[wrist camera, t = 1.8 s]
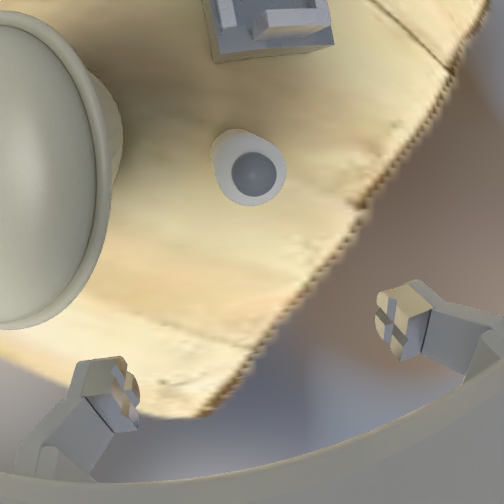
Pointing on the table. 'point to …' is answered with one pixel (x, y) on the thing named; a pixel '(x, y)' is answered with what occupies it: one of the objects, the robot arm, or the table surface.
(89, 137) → the canister
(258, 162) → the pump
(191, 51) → the table surface
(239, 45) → the grey holder stand
